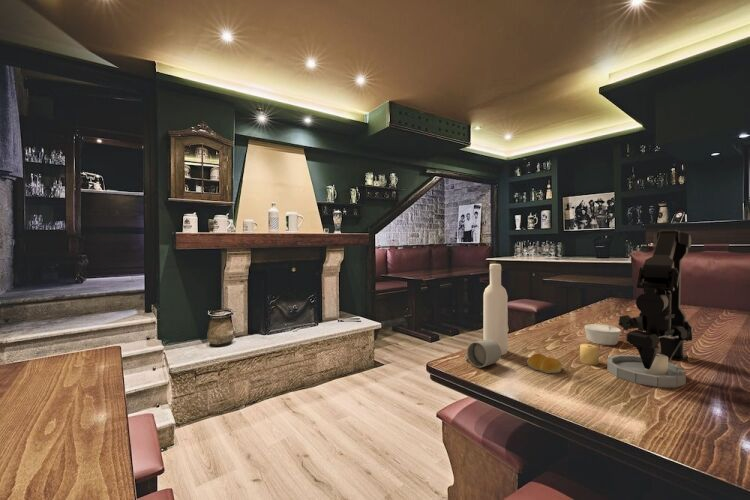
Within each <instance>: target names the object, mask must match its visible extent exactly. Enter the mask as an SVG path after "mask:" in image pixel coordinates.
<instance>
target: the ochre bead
mask: <svg viewBox="0 0 750 500" xmlns="http://www.w3.org/2000/svg"><path fill="white" fill-rule="evenodd" d="M579 362H580V363H582V364H584V365H589V366H598V365H599V364H600V347H599V346H597V345H596V344H595V345H594V344H591V343H581V344H580V345H579Z"/></svg>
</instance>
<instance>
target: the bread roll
mask: <svg viewBox="0 0 750 500" xmlns="http://www.w3.org/2000/svg"><path fill="white" fill-rule="evenodd" d="M526 363H527V365H528V367H530V368H531V369H533V370H535V371H540V372H542V373H546V374H557V373H560V372H561V371H562V367H563V365H562V363H561V361H560V360H559V359H557V358H555V357H553V356H552V357H550V356H549V357H548V356H546V355H545V354H542V353H534V354H532V355H531V356H530V357H528V358H527V361H526Z"/></svg>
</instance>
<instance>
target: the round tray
mask: <svg viewBox="0 0 750 500" xmlns="http://www.w3.org/2000/svg"><path fill="white" fill-rule="evenodd" d="M606 360H607V361H606V362H607V364H606V366H607V367H606V370H607V372H608V373H610V374H612V375H613V376H615V377H616V378H618V379H623V380H625V381H628V382H631V383H634V384H640V385H645V386H649V387H653V388H654V387H656V388H679V387H682V386H684V385H686V384H687V374H686V371H685V370H684V368H683V367H680V366H678V365H676V364H674V363H671V362H670V361H669V362H668V376H664V375H651V374H647V373H645V368H644V365H643V362H642V359H641V357H640V355H636V354H615V355H611V356H608V357H607V359H606Z"/></svg>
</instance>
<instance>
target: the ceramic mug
mask: <svg viewBox="0 0 750 500" xmlns="http://www.w3.org/2000/svg"><path fill="white" fill-rule="evenodd" d="M501 357H502V355H501V349H500V346H499V345H498V344H497V343H496V342H495V341H493V340H484V339H483V340H477V341H476V340H475V341H472V342H470V343H469V344H468V346H467V348H466V354H464V358H465V360H468V361H469V362H470V364H471V365H472V366H474V367H475V368H479V369H480V368H485V367H488V366H489V365H493V364H496V363H497V362H498V361H500V359H501Z"/></svg>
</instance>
